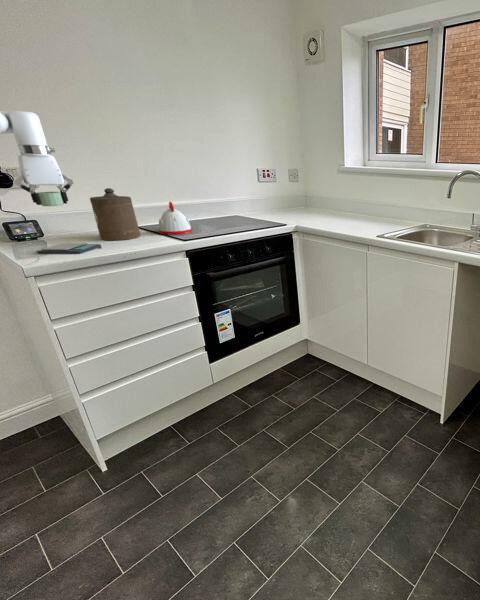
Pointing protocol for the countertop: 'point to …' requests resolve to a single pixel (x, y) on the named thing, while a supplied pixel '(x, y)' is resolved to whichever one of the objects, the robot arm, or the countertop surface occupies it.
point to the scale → (69, 248)
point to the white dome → (173, 222)
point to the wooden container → (115, 216)
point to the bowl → (50, 198)
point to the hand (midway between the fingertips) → (51, 203)
